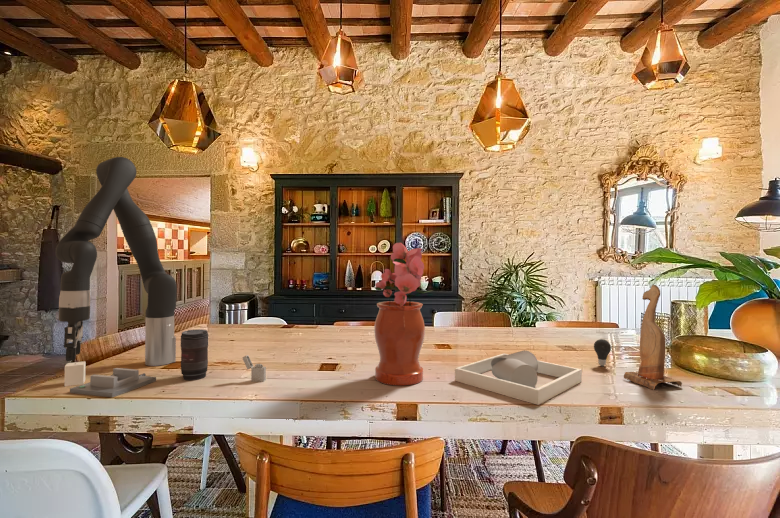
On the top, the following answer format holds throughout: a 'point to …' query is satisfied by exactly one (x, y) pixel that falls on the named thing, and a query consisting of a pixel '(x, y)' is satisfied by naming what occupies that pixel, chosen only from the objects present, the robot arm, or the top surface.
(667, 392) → the top surface
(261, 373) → the lighter
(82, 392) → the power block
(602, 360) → the light bulb
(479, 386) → the roll tray
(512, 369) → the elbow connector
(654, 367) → the bird sculpture
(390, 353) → the potted flower
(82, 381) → the charger block
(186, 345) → the camera lens
